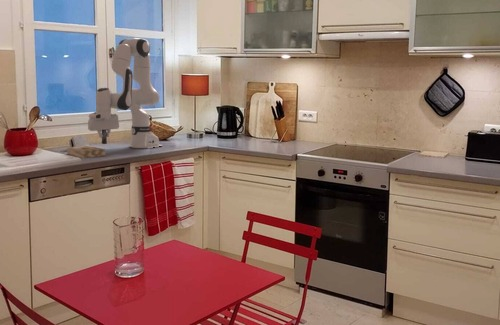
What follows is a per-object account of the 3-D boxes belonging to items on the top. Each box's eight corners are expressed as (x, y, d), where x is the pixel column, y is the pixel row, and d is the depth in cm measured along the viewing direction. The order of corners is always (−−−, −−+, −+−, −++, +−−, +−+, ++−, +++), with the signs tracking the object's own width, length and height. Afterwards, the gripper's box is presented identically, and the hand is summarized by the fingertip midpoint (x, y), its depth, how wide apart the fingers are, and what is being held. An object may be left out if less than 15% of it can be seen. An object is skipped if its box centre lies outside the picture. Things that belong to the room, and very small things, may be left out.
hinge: (78, 151, 346) (73, 135, 345) (72, 153, 347) (67, 138, 346) (92, 148, 362) (87, 133, 361) (85, 150, 363) (80, 135, 362)
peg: (105, 143, 347) (104, 128, 345) (107, 143, 345) (107, 129, 343) (100, 143, 344) (100, 129, 343) (103, 144, 342) (103, 129, 341)
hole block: (88, 152, 343) (88, 145, 343) (104, 155, 332) (104, 149, 331) (67, 153, 333) (67, 147, 333) (83, 157, 321) (83, 150, 321)
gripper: (115, 113, 351) (115, 135, 353) (86, 115, 336) (86, 137, 338) (120, 114, 347) (121, 136, 349) (92, 116, 332) (92, 139, 334)
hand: (104, 137), depth 344 cm, fingers closed on peg, 3 cm apart
